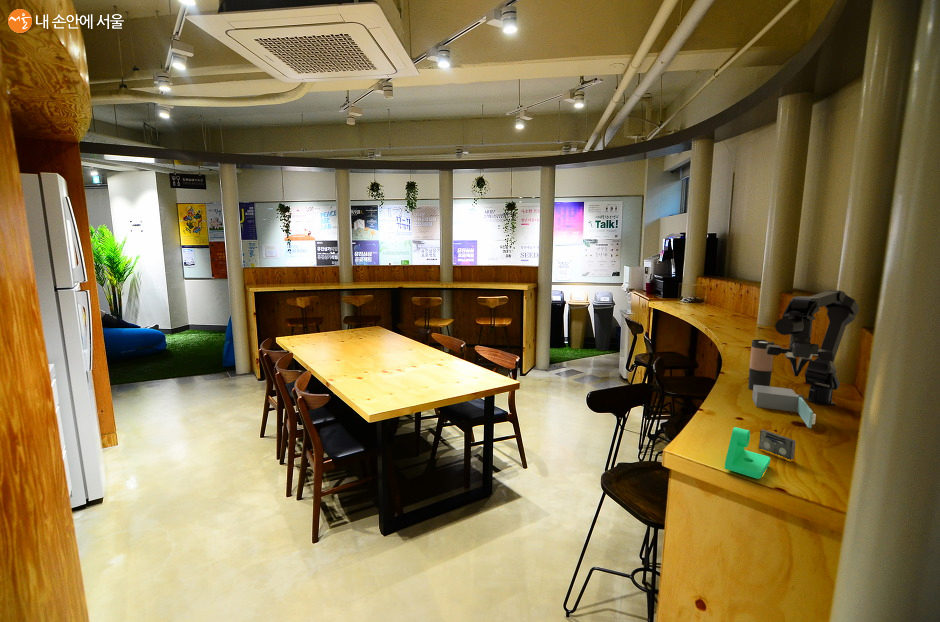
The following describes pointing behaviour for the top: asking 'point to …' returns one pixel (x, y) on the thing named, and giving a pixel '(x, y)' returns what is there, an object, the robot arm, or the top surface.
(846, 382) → the top surface
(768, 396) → the block
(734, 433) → the camera mount
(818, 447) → the top surface
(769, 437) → the mini dv tape
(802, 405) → the side door
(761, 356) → the travel mug
